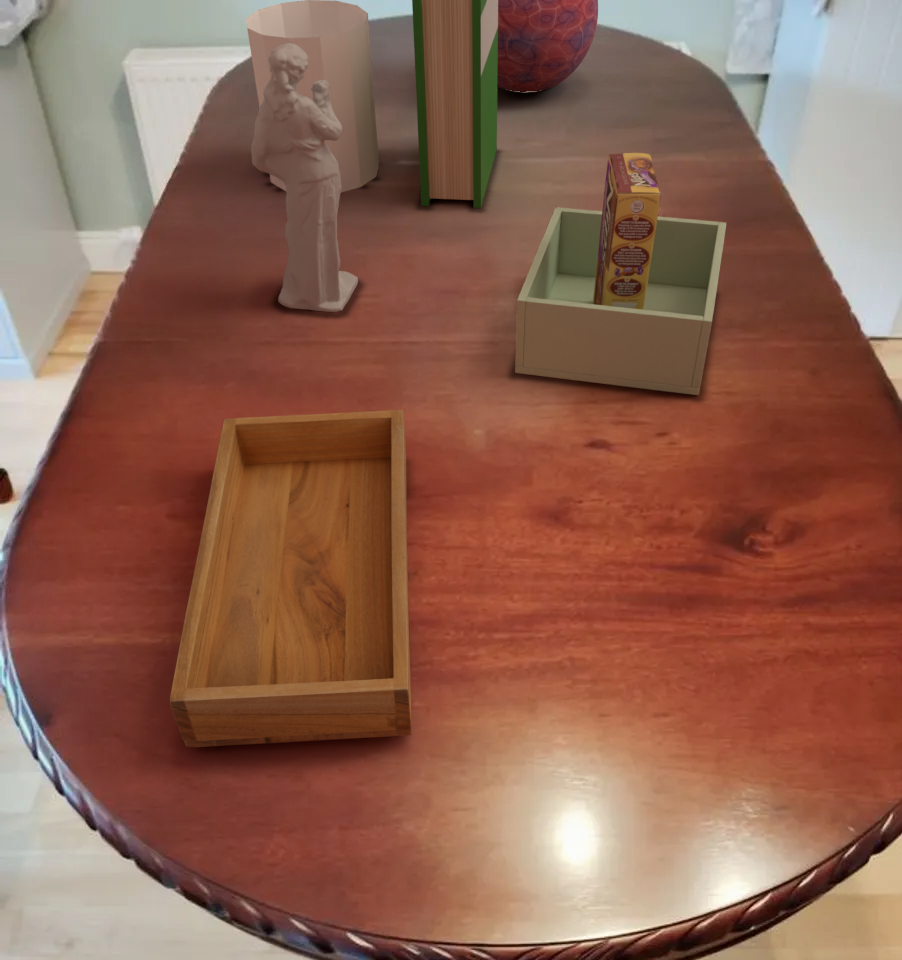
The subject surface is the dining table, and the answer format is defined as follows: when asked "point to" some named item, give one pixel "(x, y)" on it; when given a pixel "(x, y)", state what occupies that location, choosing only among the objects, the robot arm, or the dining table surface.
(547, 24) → the decorative sphere
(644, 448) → the dining table surface
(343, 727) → the tray
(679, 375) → the bin
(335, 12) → the container
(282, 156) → the figurine
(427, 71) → the hardback book
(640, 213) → the candy box
